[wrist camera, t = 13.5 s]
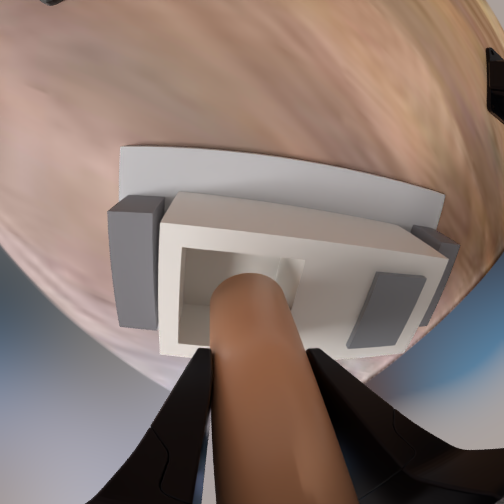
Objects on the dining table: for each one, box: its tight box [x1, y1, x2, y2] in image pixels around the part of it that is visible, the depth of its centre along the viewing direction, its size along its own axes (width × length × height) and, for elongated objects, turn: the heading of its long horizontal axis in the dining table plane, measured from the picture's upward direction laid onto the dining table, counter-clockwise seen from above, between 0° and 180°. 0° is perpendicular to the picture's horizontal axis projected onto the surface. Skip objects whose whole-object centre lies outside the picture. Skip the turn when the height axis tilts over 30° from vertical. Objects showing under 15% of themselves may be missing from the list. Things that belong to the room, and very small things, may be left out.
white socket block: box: [158, 191, 449, 360], centre depth 13 cm, size 13×6×5 cm, turn 80°
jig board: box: [107, 146, 460, 330], centre depth 15 cm, size 20×11×4 cm, turn 83°
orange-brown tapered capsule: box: [210, 273, 359, 504], centre depth 7 cm, size 3×3×9 cm
